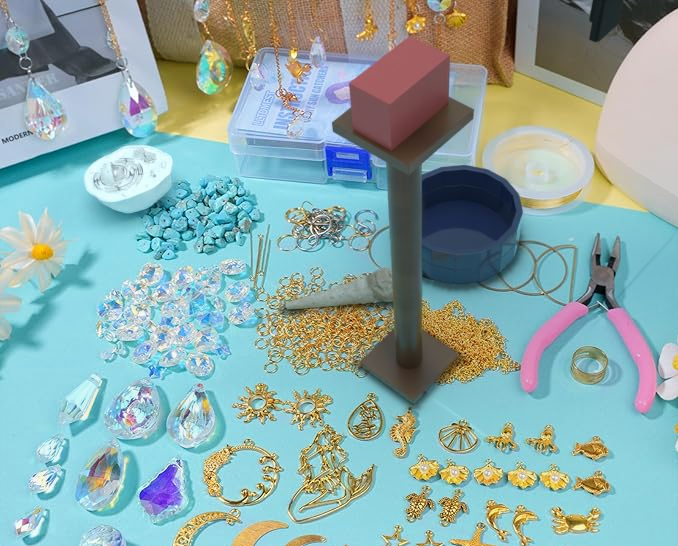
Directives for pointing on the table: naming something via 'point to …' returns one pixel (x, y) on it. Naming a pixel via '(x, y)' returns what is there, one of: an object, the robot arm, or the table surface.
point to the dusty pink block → (400, 92)
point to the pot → (468, 224)
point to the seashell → (351, 292)
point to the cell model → (130, 178)
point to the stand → (408, 253)
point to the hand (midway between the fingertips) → (658, 55)
